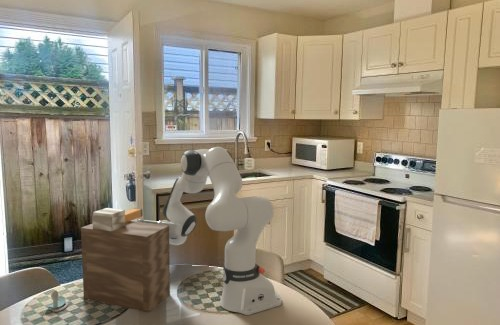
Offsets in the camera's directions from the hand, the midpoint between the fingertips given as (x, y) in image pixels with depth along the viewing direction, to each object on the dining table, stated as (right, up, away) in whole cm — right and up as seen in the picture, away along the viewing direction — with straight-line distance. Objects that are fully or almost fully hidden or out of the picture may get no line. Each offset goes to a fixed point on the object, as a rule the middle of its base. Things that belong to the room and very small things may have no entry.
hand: (149, 222), depth 163 cm
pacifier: (-25, -26, -28) cm, 46 cm away
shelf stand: (-3, -25, -19) cm, 31 cm away
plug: (-5, +3, -16) cm, 17 cm away
